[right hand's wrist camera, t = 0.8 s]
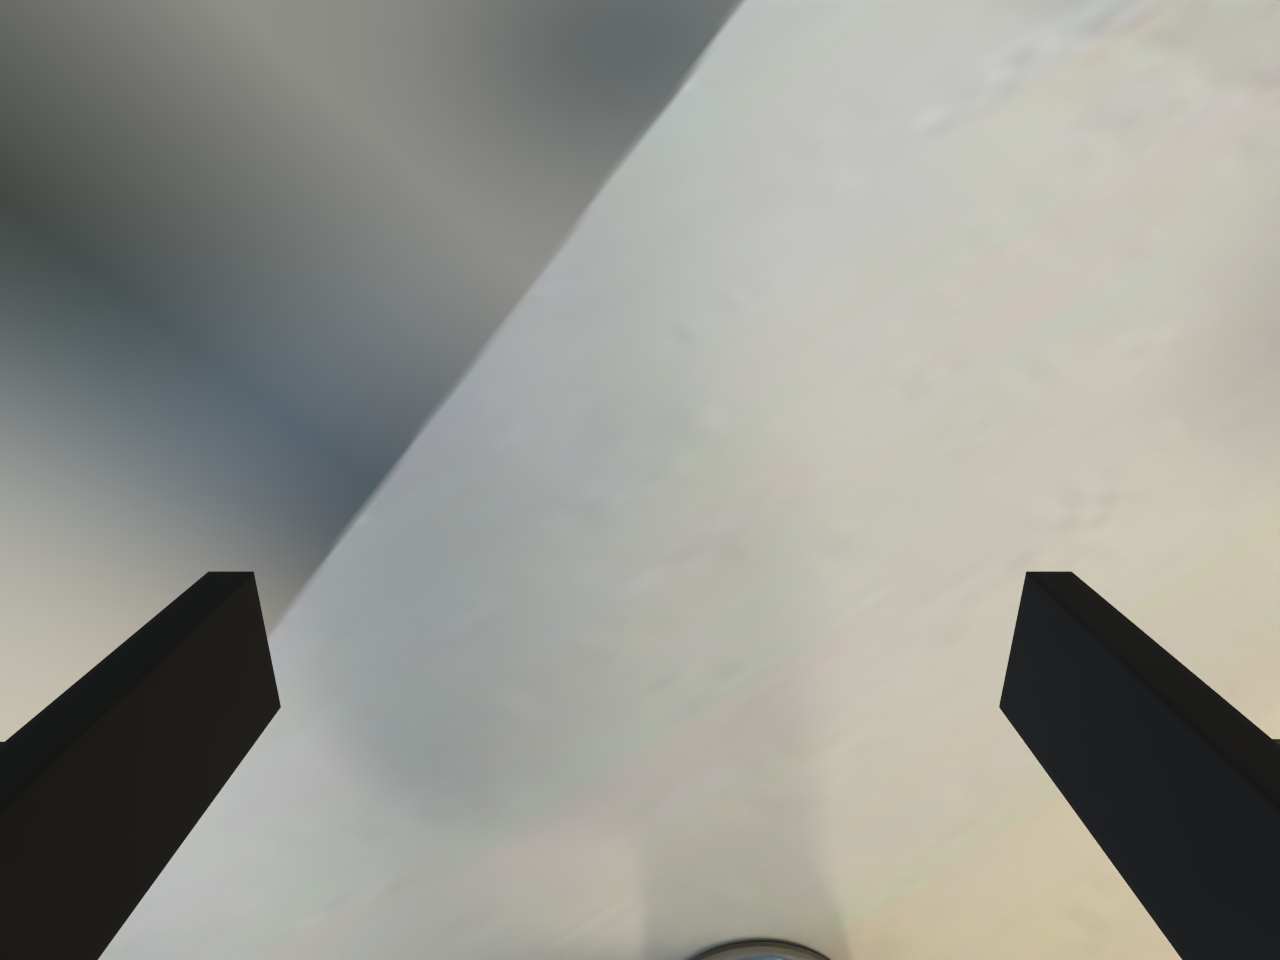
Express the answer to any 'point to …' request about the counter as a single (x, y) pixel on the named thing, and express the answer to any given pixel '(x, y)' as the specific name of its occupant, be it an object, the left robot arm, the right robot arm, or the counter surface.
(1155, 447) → the counter surface
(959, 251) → the counter surface
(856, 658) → the counter surface
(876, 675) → the counter surface
